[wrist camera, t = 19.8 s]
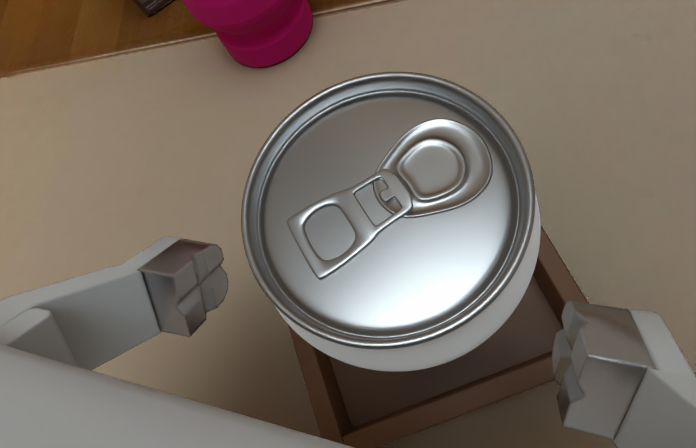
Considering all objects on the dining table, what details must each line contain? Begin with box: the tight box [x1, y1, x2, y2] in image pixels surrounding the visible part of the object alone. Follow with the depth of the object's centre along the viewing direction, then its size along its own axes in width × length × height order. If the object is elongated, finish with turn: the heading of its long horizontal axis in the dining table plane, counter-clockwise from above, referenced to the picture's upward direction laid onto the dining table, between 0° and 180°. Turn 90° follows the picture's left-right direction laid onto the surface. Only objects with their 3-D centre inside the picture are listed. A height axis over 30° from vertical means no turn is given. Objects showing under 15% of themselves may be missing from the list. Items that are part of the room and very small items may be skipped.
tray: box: [288, 226, 589, 448], centre depth 18 cm, size 12×11×2 cm
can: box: [241, 72, 541, 371], centre depth 13 cm, size 6×6×12 cm
